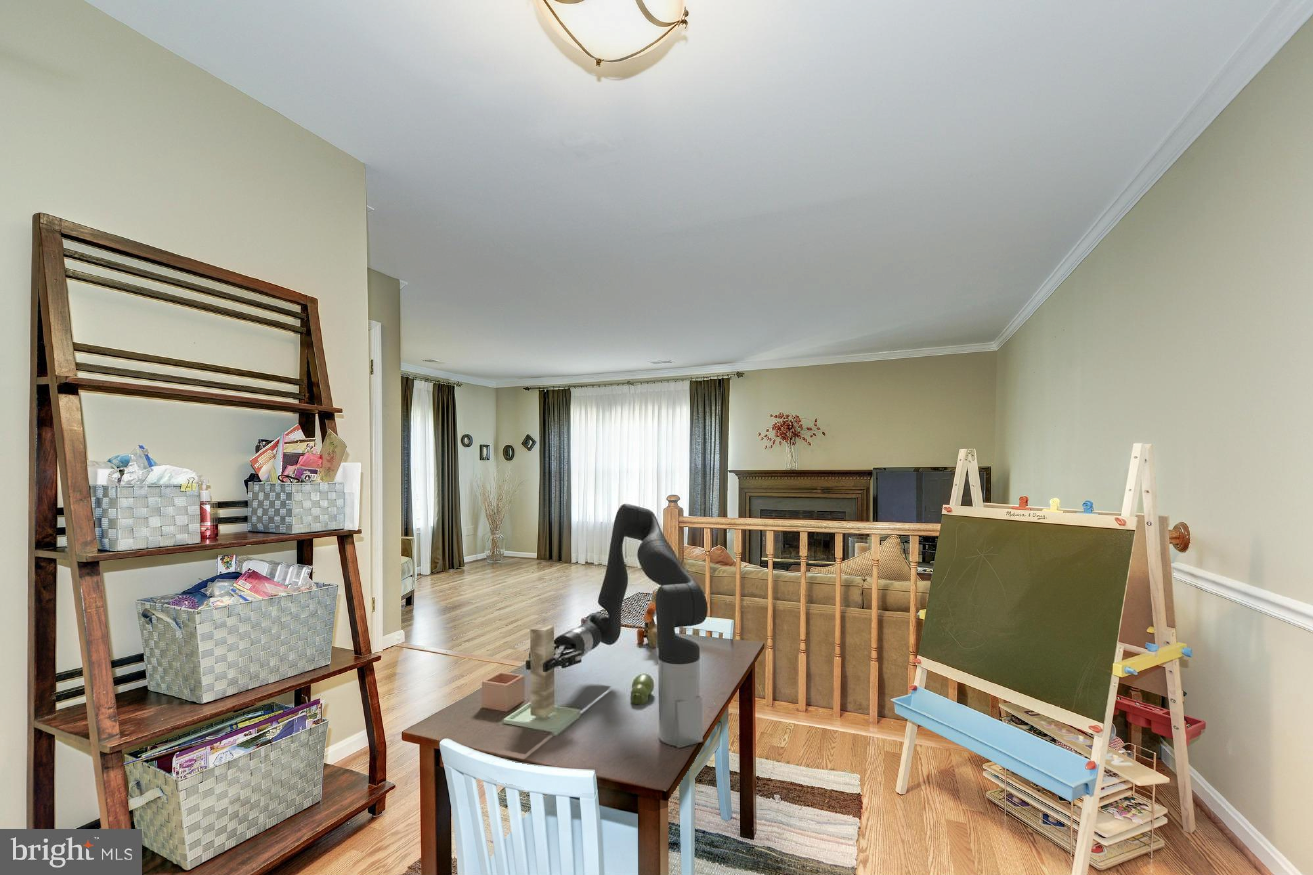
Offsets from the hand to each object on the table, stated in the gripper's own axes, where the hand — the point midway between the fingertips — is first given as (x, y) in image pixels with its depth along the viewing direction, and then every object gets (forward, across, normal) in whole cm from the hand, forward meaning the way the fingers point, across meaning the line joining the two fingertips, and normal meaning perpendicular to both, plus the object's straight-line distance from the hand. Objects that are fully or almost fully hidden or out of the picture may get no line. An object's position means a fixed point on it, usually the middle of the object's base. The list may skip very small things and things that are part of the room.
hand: (535, 666), depth 138 cm
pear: (-24, +16, +14) cm, 32 cm away
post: (-3, 0, +12) cm, 12 cm away
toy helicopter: (-64, +3, +14) cm, 65 cm away
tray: (-3, 0, +14) cm, 14 cm away
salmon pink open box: (-6, -14, +14) cm, 20 cm away
